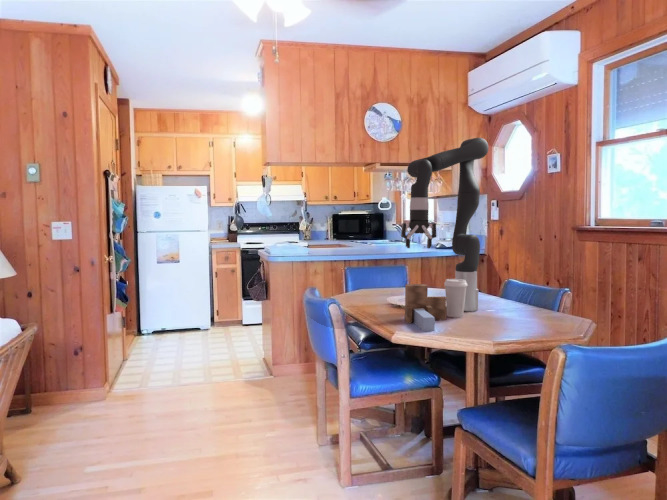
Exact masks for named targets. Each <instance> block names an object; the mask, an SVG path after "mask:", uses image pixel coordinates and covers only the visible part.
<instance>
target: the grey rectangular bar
mask: <svg viewBox="0 0 667 500" xmlns="http://www.w3.org/2000/svg"><path fill="white" fill-rule="evenodd" d="M412 323H414V324H415V325H416V326H417V327H419V328H420V330H422V331H423V332H435V330H436V329H435V323H436V322H435V317H433V316H432V315H431V314H429V313H428V312H427V311H425V309H424V308H416V309H413V321H412Z"/></svg>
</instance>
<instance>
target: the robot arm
mask: <svg viewBox="0 0 667 500" xmlns="http://www.w3.org/2000/svg"><path fill="white" fill-rule="evenodd" d="M488 152H489V143H488V142H487V139H484V138H482V137H475V138H470V139H465V140H464V141H462V142H461V144H460V146H459V147H457V148H452V149H448V150H444V151H440V152H438V153H435V154H431V155H430V156H427V157H423V158H419V159H415V160H413V161H410V163H409V164H408V165H407V169H406V170H407V174H408V175H409V176H410V177H411V178H415V179H416V181H415V182H414V183H413V184H411V187H410V201H409V223H406V222H403V223H401V233H400V236H401V238H403V239H405V247H406V248H407V249H411V239H410V238H411V237H412V236H413V235H414V234H424V235H425V236H426V238H427V239H426V240H427V242H426V247H427V249H430V248H431V247H432V246H433V243H432V241H433V239H435V238H437V223H435V222H432V223H429V222H430V221H429V186H430V182H431V179H432V175H433V173H435V172H436V173H437V172H438V171H439V172H440V171H442V170H444V169H447V168H451V167H453V166H455V165H458V164H459V177H458V178H459V179H458V191H457V202H456V203H457V205H456V216H455V223H454V229H453V234H452V236H453V237H452V239H451V240H452V241H451V249H452V251H453V253H454V254H455V255H457V256H464V259H463V260H462V261H461V262H459V263H457V264H455V272H454V273H455V274H454V275H455V277H454V279H462V280H466V283H467V285H468V286H466V295H465V304H464V312H477V311H479V288H478V268H479V264H480V254H481V253H480V250H481V243H480V238H479V237H478V236H477V235H476V234H467V232H468V231H467V230H468V225H469V223H470V221H471V219H472V217H473V216H474V214H475V213H476V211H477V209H478V207H479V205H480V194H481V192H480V186H479V183H478V181H477V179H476V177H475V174H474V164H475V160H480V159H483V158H485V156H487V154H488ZM408 227H409V231H408V233H407V232H406V231H407V228H408ZM429 228H430V229H431V234H430V231H429V230H428V229H429Z"/></svg>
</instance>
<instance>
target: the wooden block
mask: <svg viewBox="0 0 667 500" xmlns="http://www.w3.org/2000/svg"><path fill="white" fill-rule="evenodd" d="M404 287H405V288H404V289H405V290H404V292H405V293H404V295H405V296H404V298H405V299H404V304H405V305H404V322H405V323H406V324H412V323H413V309H416V308H424V309H425V311H427V312H428V313H429V314H431V315H432V316H433V317H435V320H446V319H447V307H446V296H428V288H429V287H428V285H427V284H426V283H424V284H423V283H422V284H419V283H418V284H417V283H414V284H413V283H412V284H411V283H410V284H407V283H406V284H405V285H404Z"/></svg>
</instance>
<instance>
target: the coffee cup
mask: <svg viewBox="0 0 667 500" xmlns="http://www.w3.org/2000/svg"><path fill="white" fill-rule="evenodd" d="M443 286H444V288H445V289H444V290H445V291H444V292H445V297H446V317H449V318H456V319H457V318H463V317H464V312H465V311H464V304H465V295H466V286H468V285H467V283H466V280H462V279H455V278H447V279H445V281H444V283H443Z"/></svg>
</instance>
